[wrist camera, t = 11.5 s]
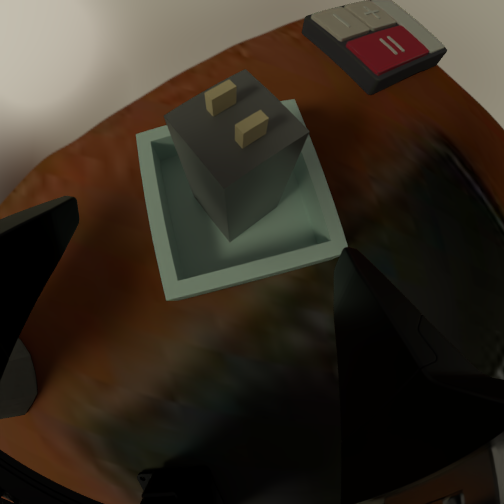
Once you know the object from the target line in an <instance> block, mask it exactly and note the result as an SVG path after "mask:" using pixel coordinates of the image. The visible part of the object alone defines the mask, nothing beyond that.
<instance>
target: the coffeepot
mask: <svg viewBox="0 0 504 504" xmlns="http://www.w3.org/2000/svg"><path fill="white" fill-rule="evenodd" d="M36 395H37V383H36V374H35V370H34V366H33V363H32V360H31V355H30V354H29V352H28V350H27V349H26V347H25V346H24V344H23V343H22V341H21V340H20V339H19V338H18V340H17V342H16V344H15V346H14V349H13V351H12V353H11V355H10V357H9V361H8V363H7V365H6V368H5V370H4V373H3V376H2V378H1V381H0V419H3V418H9V417H15V416H20V415H25V414H26V412H27V410H28V409H29V407H30V406H31V405H32V404H33V401H34V399H35V397H36Z"/></svg>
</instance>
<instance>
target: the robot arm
mask: <svg viewBox="0 0 504 504" xmlns="http://www.w3.org/2000/svg"><path fill="white" fill-rule="evenodd" d="M78 223H79V213H78V205H77V200H76V198H75V197H70V196H64V197H60V198H57V199H54V200H52V201H49V202H46V203H43V204H40V205H37V206H34V207H32V208H29V209H26V210H23V211H21V212H18V213H16V214H13V215H10V216H8V217H5V218H3V219H0V381H1V378H2V376H3V373H4V370H5V368H6V365H7V363H8V361H9V357H10V355H11V353H12V351H13V349H14V346H15V344H16V342H17V340H18V337H19V335H20V333H21V331H22V329H23V327H24V325H25V323H26V321H27V319H28V317H29V315H30V313H31V311H32V309H33V307H34V305H35V303H36V301H37V299H38V297H39V296H40V294H41V292H42V290H43V288H44V286H45V285H46V283H47V281H48V279H49V278H50V276H51V274H52V272H53V271H54V269H55V267H56V266H57V264H58V262H59V261H60V259H61V257H62V255H63V253H64V251H65V249H66V247H67V245H68V243H69V241H70V239H71V237H72V235H73V234H74V232H75V230H76V228H77V226H78ZM334 324H335V335H336V346H337V359H338V373H339V390H340V411H341V440H342V442H341V459H342V474H341V504H383V503H384V504H504V380H502V379H496V378H492V377H489V376H487V375H485V374H483V373H481V372H480V371H479V370H478V369H476V368H475V367H474V366H473V365H472V364H471V363H470V362H469V361H468V360H467V359H466V358H465V357H464V356H463V355H462V354H461V353H460V352H459V351H458V350H457V349H456V348H455V347H454V346H453V345H452V344H451V343H450V342H449V341H448V340H447V339H446V338H445V337H444V336H443V335H442V334H441V333H440V332H439V331H438V330H437V329H436V328H435V327H434V326H433V325H432V324H431V323H430V322H429V321H428V320H427V319H426V318H425V316H424V315H421V312H420V311H419V310H418V309H417V308H416V307H415V306H414V305H413V304H412V303H411V302H410V301H409V300H408V299H407V298H406V297H405V296H404V295H403V294H402V293H401V292H400V291H399V290H398V289H397V288H396V287H395V286H394V285H393V284H392V283H391V282H390V281H389V280H388V279H387V278H386V277H385V276H384V275H383V274H382V273H381V272H380V271H379V270H378V269H377V268H376V267H375V266H374V265H373V264H372V263H371V262H370V261H369V260H368V259H367V258H366V257H365V256H364V255H363V254H361V253H360V252H359V251H358V250H357V249H355V248H350V247H345V248H343V250H342V252H341V255H340V257H339V259H338V262H337V264H336V267H335V271H334ZM202 470H204V471H206V472H205V473H203V472H201V471H202ZM142 477H144V478H145V479H143V478H142ZM137 479H138V481H139V483H140V485H141V487H142V489H143V490H144V492H143V494H142V501H141V503H140V504H225V503H224V501H223V498H222V496H221V494H220V492H219V490H218V487H217V485H216V483H215V481H214V478H213V476H212V474H211V471H210V469H209V468H208V467H206V466H198V467H191V468H172V469H162V470H154V471H153V472H141V473H139V474H138V476H137ZM1 496H3V497H5V498H7V499H9V500H11V501H13V502H14V503H12V502H10V501H8V500H6V499H3V498H1ZM0 504H103V503H101V502H98V501H96V500H93V499H91V498H88V497H86V496H84V495H81V494H79V493H77V492H75V491H72V490H70V489H68V488H66V487H64V486H62V485H60V484H58V483H56V482H54V481H52V480H50V479H48V478H46V477H44V476H42V475H41V474H39V473H37V472H35V471H33V470H32V469H30V468H28V467H27V466H25V465H23V464H22V463H20V462H18V461H17V460H15V459H14V458H12V457H10V456H9V455H7V454H6V453H4V452H3V451H1V450H0Z"/></svg>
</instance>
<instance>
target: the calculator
mask: <svg viewBox="0 0 504 504" xmlns="http://www.w3.org/2000/svg"><path fill="white" fill-rule="evenodd" d="M302 34H303V35H304V36H305V37H307V38H308V39H309V40H310V41H311V42H313V43H314V44H315V45H316V46H317V47H319V48H320V49H321V50H322V51H323V52H324V53H325V54H326V55H328V56H329V57H330V58H331V59H332V60H333V61H334V62H335V63H336V64H337V65H339V66H340V67H341V68H342V69H343V70H344V71H345V72H346V73H347V74H348V75H349V76H350V77H351V78H352V79H353V80H354V81H355V82H356V83H357V84H358V85H359V86H360V87H361V88H362V89H363V90H364V91H365V92H366V93H367V94H369V95H372V94H375V93H377V92H379V91H381V90H383V89H385V88H387V87H389V86H391V85H393V84H395V83H397V82H399V81H401V80H403V79H405V78H407V77H409V76H411V75H414V74H416V73H418V72H420V71H424V70H426V69H429V68H431V67H433V66H436V65H437V63H438V62H439V61H440V60H441V58H442V57H443V55H444V54H445V53H446V52H447V49H446V48H445V47H444V45H443V44H442V43H441V42H440V41H439V40H438V39H437V38H436V37H435V36H434V35H432V34H431V33H430V32H429V31H428V30H427V29H426V28H425V27H424V26H423V25H421V24H420V23H419V22H418V21H417V20H416V19H414V18H413V17H412V16H411V15H410V14H408V13H407V12H406V11H405V10H403V9H402V8H401V7H400V6H398V5H397V4H396V3H395V2H393V1H392V0H366V1H361V2H356V3H352V4H347V5H344V6H340V7H335V8H331V9H328V10H324V11H320V12H317V13H314V14H311V15H308V16H306V17H305V19H304V24H303V29H302Z"/></svg>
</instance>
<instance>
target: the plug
mask: <svg viewBox="0 0 504 504" xmlns="http://www.w3.org/2000/svg"><path fill="white" fill-rule="evenodd" d="M164 118H165V121H166V124H167V127H168V129H169V132H170V135H171V137H172V140H173V143H174V145H175V148H176V151H177V153H178V156H179V159H180V161H181V164H182V167H183V169H184V172H185V174H186V177H187V180H188V182H189V185H190V187H191V190H192V192H193V195H194V197H195V199H196V200H197V201H198V203H199V204H200V205H201V206H202V208H203V209H204V210H205V212H206V213H207V214H208V215H209V217H210V218H211V219H212V221H213V222H214V223H215V224H216V226H217V227H218V228H219V230H220V231H221V232H222V233H223V235H224V236H225V237H226V238H227V240H228V241H229V242H231V241H232V240H234V239H235V238H236V237H238V236H239V235H240V234H242V233H243V232H244V231H246V230H247V229H248V228H250V227H251V226H252V225H254V224H255V223H256V222H257V221H259V220H260V219H261V218H263V217H264V216H265V215H267V214H268V213H269V212H271V211H272V210H274V209H275V208H276V207H277V205H278V203H279V201H280V198H281V196H282V194H283V192H284V189H285V187H286V185H287V183H288V180H289V178H290V176H291V173H292V171H293V169H294V167H295V164H296V162H297V160H298V157H299V155H300V153H301V151H302V148H303V146H304V144H305V141H306V139H307V137H308V135H309V132H310V131H309V130H308V129H307V128H306V127H305V126H304V125H303V124H302V123H301V122H300V121H299V120H298V119H297V118H296V117H295V116H294V115H293V114H292V113H291V112H290V111H289V110H288V109H287V108H286V107H285V106H284V105H283V104H282V103H281V102H280V101H279V100H278V99H277V98H276V97H275V96H274V95H273V94H272V93H271V92H270V91H269V90H268V89H266V88H265V87H264V86H263V85H262V84H261V83H260V82H259V81H258V80H257V79H256V78H254V77H253V76H252V75H251V74H250V73H249V72H248V71H247V70H246V69H245V70H243V71H241V72H239V73H237V74H235V75H233V76H231V77H229V78H227V79H225V80H224V81H222V82H220V83H218V84H216V85H214V86H213V87H211V88H209V89H207V90H205V91H204V92H202V93H200V94H198V95H197V96H195V97H193V98H192V99H190V100H188V101H187V102H185V103H183V104H182V105H180V106H179V107H177V108H175V109H174V110H172V111H171V112H169V113H167V114H166V115H164Z"/></svg>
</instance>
